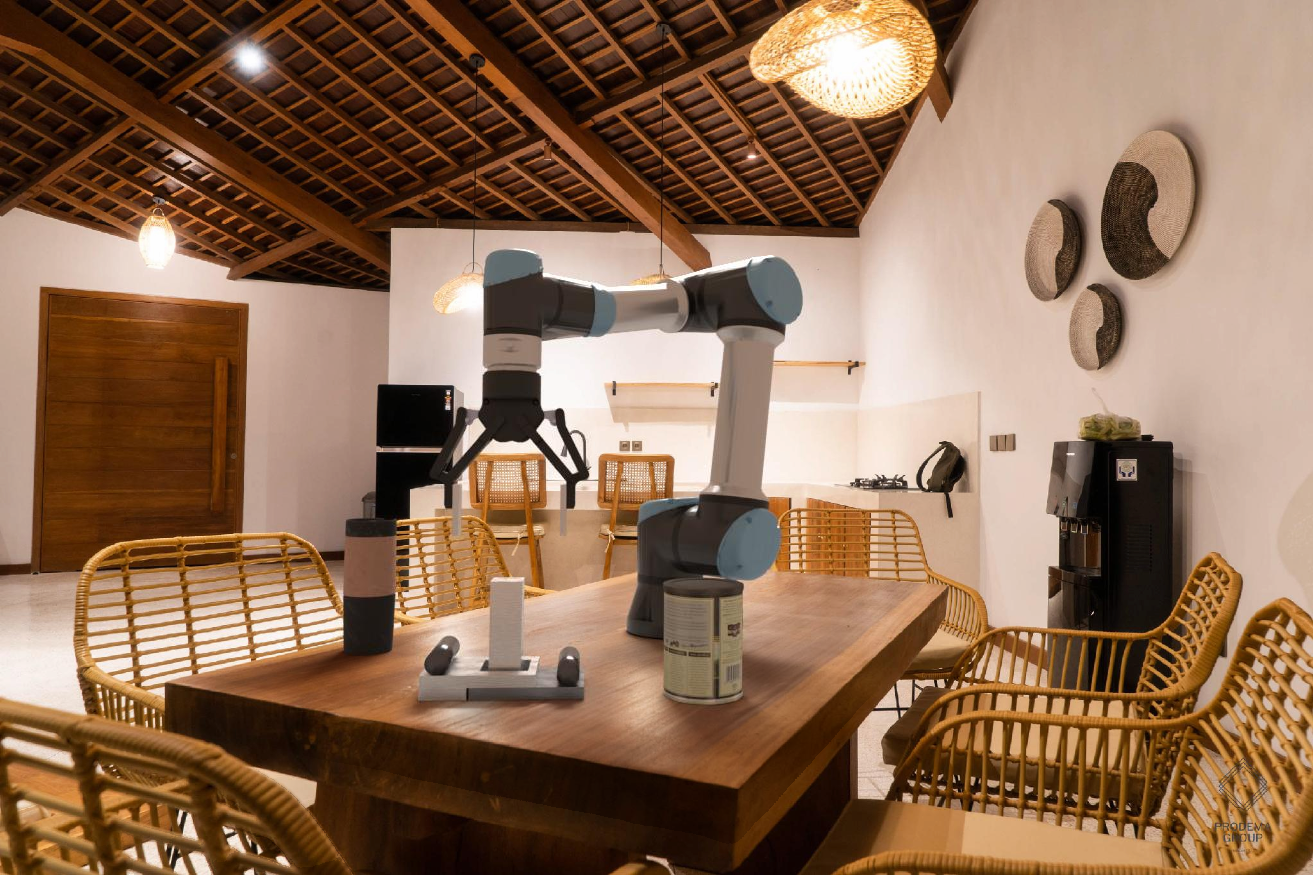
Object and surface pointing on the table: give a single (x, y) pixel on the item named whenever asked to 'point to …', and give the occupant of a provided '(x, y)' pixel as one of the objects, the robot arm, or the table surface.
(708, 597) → the coffee can
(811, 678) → the table surface
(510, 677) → the base with two rollers
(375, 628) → the travel mug
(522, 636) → the pin
